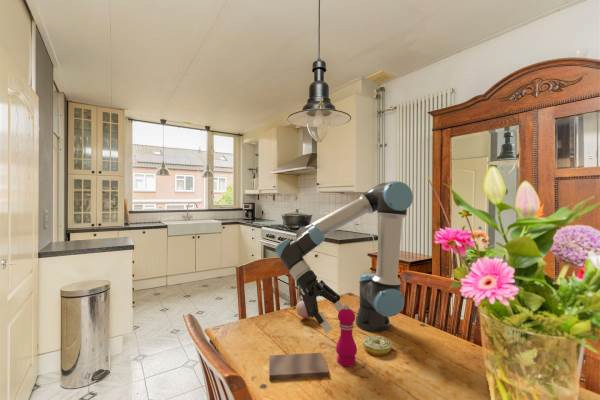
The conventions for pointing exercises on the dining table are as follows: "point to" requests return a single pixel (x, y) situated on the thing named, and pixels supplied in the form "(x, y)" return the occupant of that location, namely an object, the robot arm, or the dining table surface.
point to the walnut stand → (297, 366)
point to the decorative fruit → (302, 310)
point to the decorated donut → (377, 345)
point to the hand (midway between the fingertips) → (338, 323)
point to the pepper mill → (346, 338)
